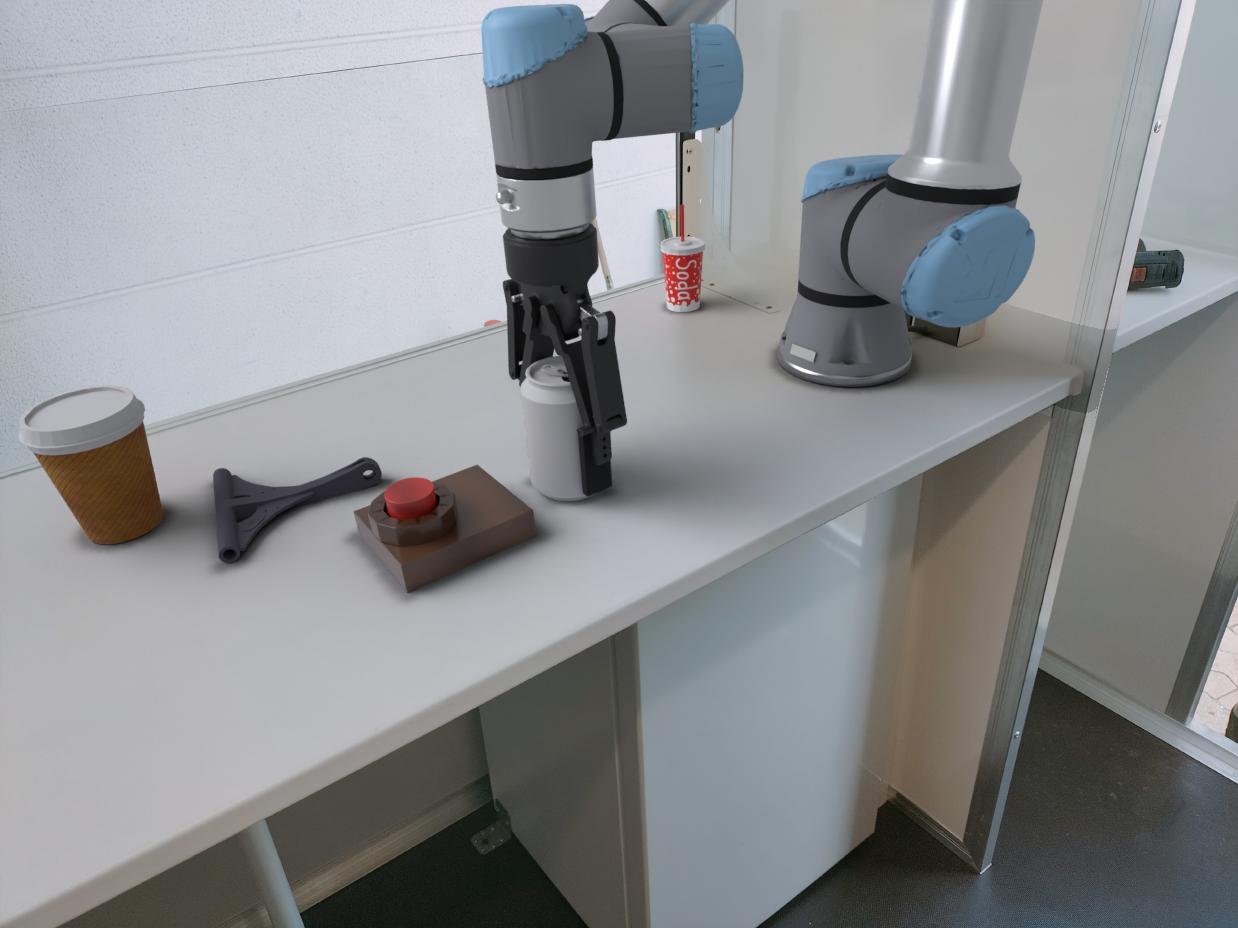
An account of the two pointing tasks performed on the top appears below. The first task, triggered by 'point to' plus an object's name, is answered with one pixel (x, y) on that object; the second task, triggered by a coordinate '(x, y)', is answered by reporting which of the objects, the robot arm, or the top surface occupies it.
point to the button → (410, 498)
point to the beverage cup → (683, 270)
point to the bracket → (275, 501)
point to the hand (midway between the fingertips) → (570, 470)
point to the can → (552, 430)
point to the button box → (447, 528)
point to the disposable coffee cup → (97, 459)
